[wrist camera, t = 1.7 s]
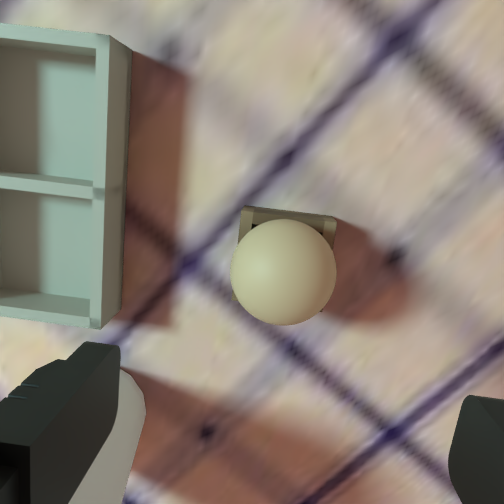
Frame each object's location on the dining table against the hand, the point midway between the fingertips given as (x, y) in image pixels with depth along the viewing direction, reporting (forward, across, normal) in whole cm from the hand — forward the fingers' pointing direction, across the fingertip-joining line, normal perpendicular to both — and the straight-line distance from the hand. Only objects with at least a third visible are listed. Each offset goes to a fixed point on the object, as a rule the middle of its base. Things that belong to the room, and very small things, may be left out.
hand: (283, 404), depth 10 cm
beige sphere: (+11, 0, 0) cm, 11 cm away
